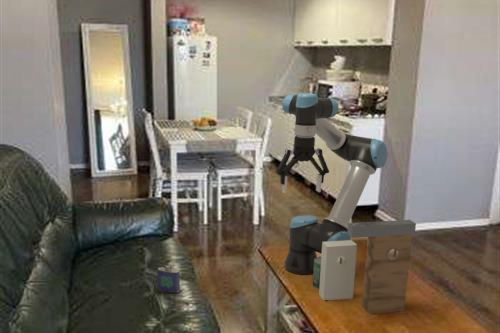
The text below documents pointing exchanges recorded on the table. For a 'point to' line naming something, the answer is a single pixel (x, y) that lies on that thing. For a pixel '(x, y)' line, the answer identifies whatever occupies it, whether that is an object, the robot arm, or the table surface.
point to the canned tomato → (316, 272)
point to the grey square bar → (381, 228)
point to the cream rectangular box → (337, 270)
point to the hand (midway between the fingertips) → (301, 192)
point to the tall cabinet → (386, 273)
